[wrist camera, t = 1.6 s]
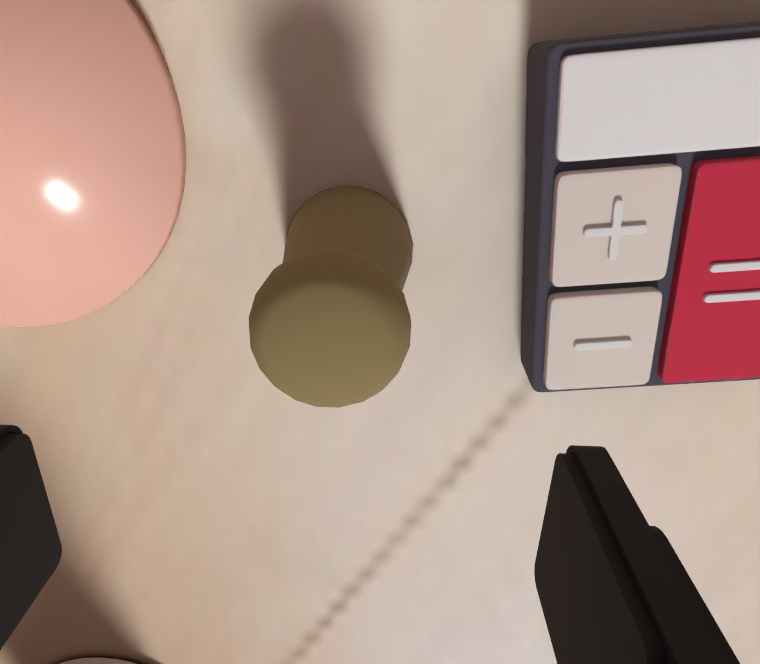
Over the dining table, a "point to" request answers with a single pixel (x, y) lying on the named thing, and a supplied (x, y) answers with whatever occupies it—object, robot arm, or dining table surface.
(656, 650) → the robot arm
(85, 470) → the dining table surface
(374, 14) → the dining table surface
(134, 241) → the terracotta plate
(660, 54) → the calculator
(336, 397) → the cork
